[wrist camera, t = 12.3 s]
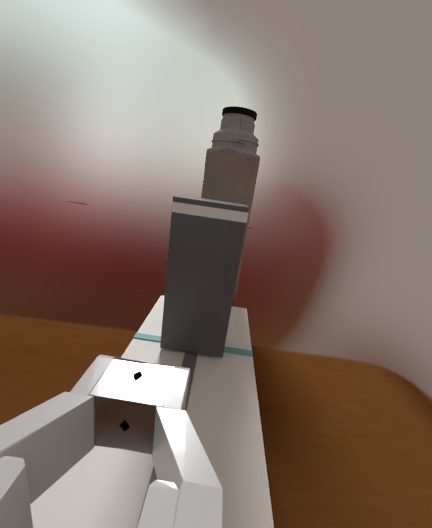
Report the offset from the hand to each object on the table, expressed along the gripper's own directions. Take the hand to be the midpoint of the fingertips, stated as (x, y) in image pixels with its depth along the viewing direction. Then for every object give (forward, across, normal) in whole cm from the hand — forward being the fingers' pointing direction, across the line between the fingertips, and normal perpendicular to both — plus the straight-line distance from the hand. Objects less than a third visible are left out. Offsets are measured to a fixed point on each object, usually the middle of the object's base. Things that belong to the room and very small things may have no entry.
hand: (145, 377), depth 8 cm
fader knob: (+15, +1, -9) cm, 18 cm away
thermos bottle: (+34, +2, -12) cm, 36 cm away
